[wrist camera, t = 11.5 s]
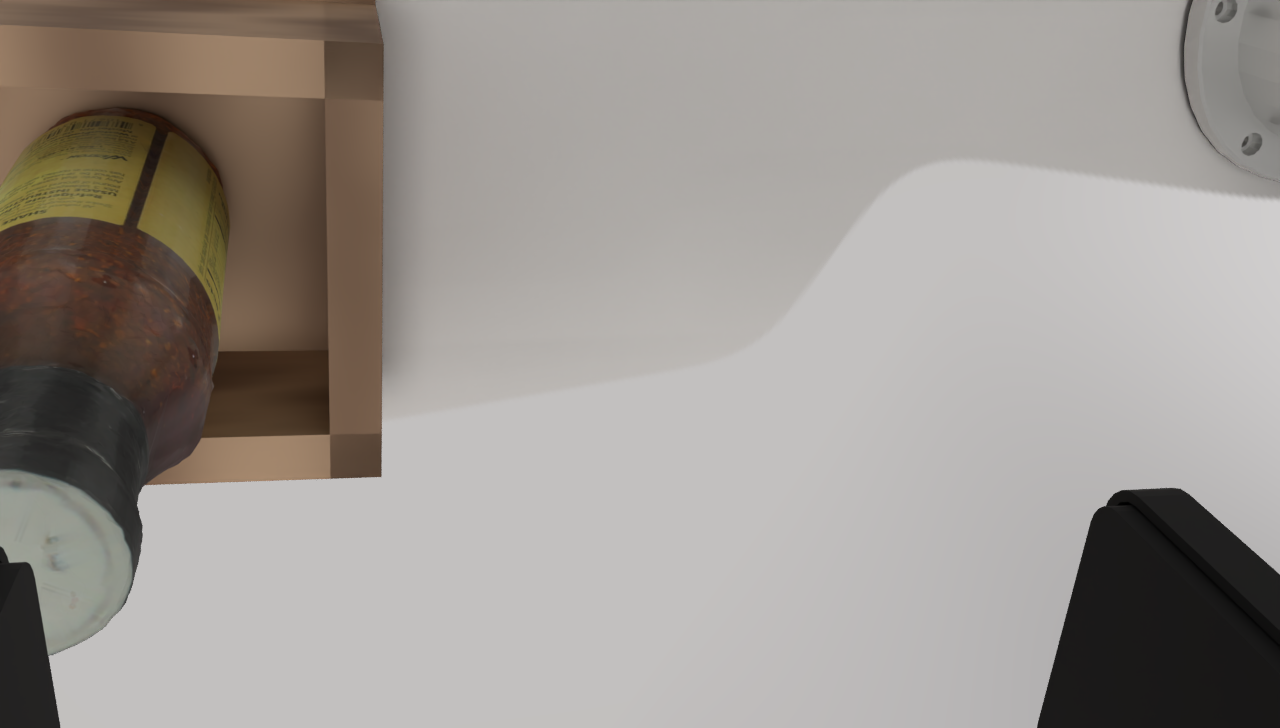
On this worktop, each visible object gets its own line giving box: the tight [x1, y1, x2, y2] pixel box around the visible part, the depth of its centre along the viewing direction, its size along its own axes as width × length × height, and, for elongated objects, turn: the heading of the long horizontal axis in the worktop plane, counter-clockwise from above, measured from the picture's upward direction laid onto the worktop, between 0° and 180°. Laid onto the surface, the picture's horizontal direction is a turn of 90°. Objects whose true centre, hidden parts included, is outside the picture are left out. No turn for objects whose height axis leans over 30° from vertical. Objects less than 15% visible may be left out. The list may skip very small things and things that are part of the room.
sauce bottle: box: [0, 107, 230, 656], centre depth 29 cm, size 6×6×20 cm
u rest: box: [0, 0, 384, 485], centre depth 36 cm, size 14×14×7 cm
